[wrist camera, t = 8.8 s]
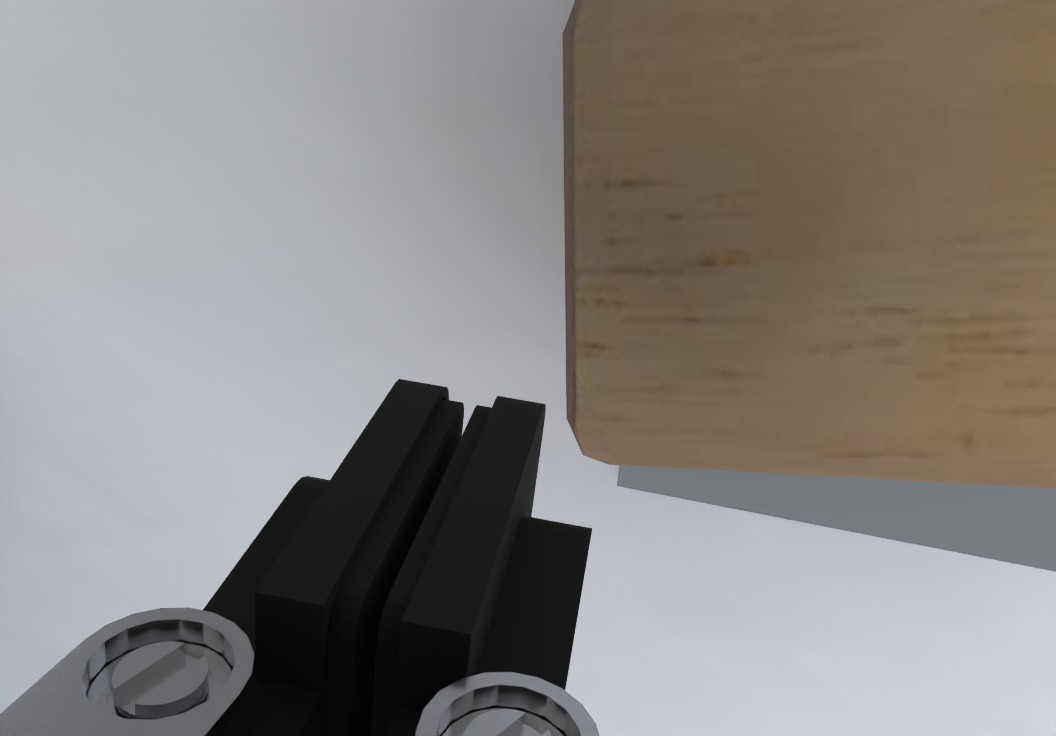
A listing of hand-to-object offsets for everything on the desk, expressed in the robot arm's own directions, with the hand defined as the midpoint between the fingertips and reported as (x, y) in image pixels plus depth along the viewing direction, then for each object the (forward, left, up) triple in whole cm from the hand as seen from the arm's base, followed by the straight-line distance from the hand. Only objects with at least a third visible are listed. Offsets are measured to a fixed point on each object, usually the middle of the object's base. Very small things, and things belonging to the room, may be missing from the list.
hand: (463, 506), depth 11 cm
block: (-1, 0, -14) cm, 14 cm away
